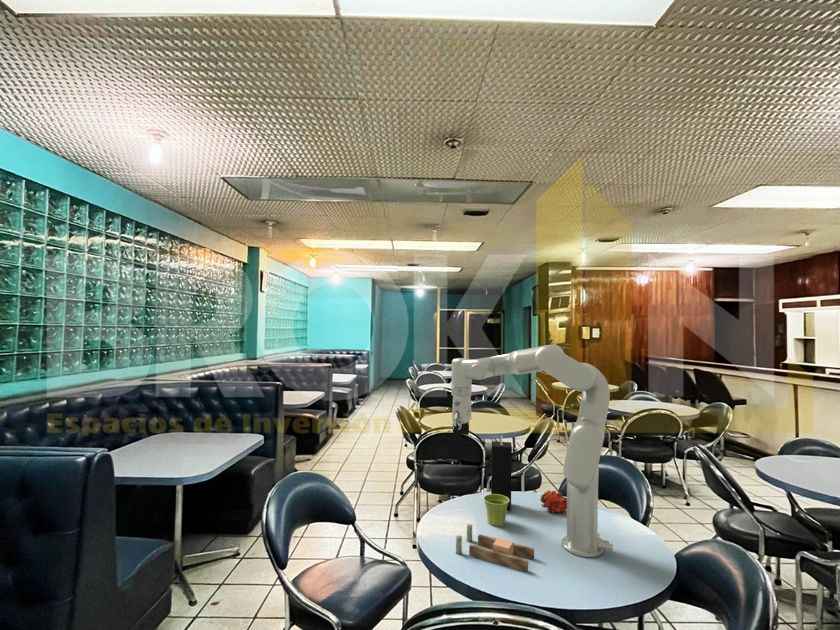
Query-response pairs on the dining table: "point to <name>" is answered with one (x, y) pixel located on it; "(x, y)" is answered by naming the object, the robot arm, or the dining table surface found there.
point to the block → (503, 546)
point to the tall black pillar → (501, 469)
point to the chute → (494, 555)
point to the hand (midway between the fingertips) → (461, 437)
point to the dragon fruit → (554, 501)
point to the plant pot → (496, 508)
